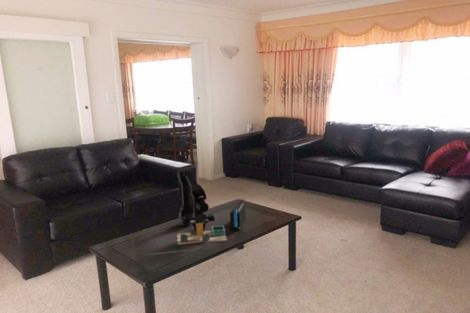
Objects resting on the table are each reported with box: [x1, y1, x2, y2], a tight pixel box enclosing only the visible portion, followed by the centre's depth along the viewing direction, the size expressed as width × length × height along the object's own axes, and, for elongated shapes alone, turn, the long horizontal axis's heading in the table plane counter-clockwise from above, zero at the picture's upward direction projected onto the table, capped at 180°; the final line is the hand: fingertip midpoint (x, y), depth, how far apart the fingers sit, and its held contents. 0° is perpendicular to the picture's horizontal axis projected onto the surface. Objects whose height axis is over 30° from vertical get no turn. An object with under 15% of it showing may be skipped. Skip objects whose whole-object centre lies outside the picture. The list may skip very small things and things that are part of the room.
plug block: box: [195, 223, 203, 236], centre depth 228 cm, size 4×4×9 cm
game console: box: [229, 198, 247, 231], centre depth 250 cm, size 28×6×15 cm, turn 167°
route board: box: [176, 224, 228, 245], centre depth 230 cm, size 17×30×5 cm, turn 98°
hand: (199, 231), depth 228 cm, fingers closed on plug block, 4 cm apart
